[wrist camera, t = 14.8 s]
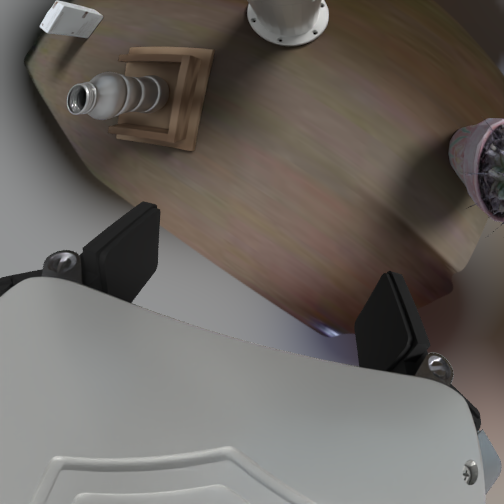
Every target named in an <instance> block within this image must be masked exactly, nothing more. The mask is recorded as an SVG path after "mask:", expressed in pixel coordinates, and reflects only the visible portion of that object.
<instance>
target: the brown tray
mask: <svg viewBox="0 0 504 504" xmlns="http://www.w3.org/2000/svg"><path fill="white" fill-rule="evenodd" d="M214 53H215V50H213V49H202V48H187V47H130V50H129V54H126V55H119V59H118V61H119V62H127V65H126V70H125V76H129V77H143V76H148V75H155V76H158V77H160V78H162V79H163V80H165V81H166V83H167V84H168V87H169V97H168V100H167V102H166V104H165V105H164V106H163V107H162V108H161V109H160V110H158V111H156V112H153V113H149V114H147V113H140V112H127V113H123V114H120V115H119V117H118V125H113V126H109V128H108V133H111V134H117V137H116V139H122V140H129V141H136V142H143V143H149V144H155V145H161V146H167V147H172V148H178V149H183V150H188V151H194V150H195V145H196V140H197V134H198V128H199V123H200V118H201V112H202V107H203V102H204V97H205V93H206V88H207V83H208V79H209V74H210V70H211V66H212V61H213V57H214Z"/></svg>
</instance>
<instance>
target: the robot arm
mask: <svg viewBox="0 0 504 504" xmlns="http://www.w3.org/2000/svg"><path fill="white" fill-rule="evenodd" d="M248 2H249V5H248V9H247V16H248V20H249V23H250V25H251V27H252V28H253V30H254V31H255V32H256V33H257V34H258V35H259V36H260V37H262V38H263V39H265V40H266V41H268V42H271V43H273V44H277V45H281V46H299V45H304V44H307V43H309V42H312V41H313V40H315V39H316V38H318V37H319V36H320V35H321V34H322V33H323V31H324V30H325V29H326V26H327V24H328V20H329V11H328V7H327V5H326V3H325V1H324V0H248ZM321 6H323V8H322V7H321ZM253 21H256V22H253ZM313 33H316V35H314V34H313ZM279 40H282V42H279ZM159 225H160V209H157V205H156V204H152V203H148V202H144V201H143V202H141V203H140V204H139V205H137V206H136V207H134V208H133V209H132V210H130V211H129V212H128V213H126V214H125V215H124V216H122V217H121V218H120V219H118V220H117V221H116V222H114V223H113V224H112V225H111V226H109V227H108V228H107V229H106V230H104V231H103V232H102V233H100V234H99V235H98V236H97V237H95V238H94V239H93V240H92V241H90V242H89V243H88V244H87V245H86V246H84V247H83V253H82V254H80V255H78V254H77V253H76V252H74V251H70V250H62V251H57V252H55V253H53V254H51V255H50V256H48V257H47V258H46V260H45V261H44V264H43V269H42V270H37V271H32V272H27V273H21V274H16V275H12V276H6V277H2V278H0V504H486V499H485V495H486V493H487V492H488V491H489V489H490V488H491V486H492V485H493V484H494V482H495V481H496V480H497V478H498V477H499V475H500V472H501V461H500V459H499V456H498V455H497V453H496V451H495V449H494V448H493V446H492V444H491V442H490V441H489V439H488V437H487V436H486V434H485V432H484V431H483V429H482V430H481V431H479V428H480V425H481V419H480V413H479V411H478V410H477V408H475V407H474V406H473V405H472V404H471V403H470V402H469V401H468V400H467V399H466V398H465V397H464V396H463V395H462V394H461V393H460V392H459V391H458V390H457V389H456V388H455V387H453V386H452V384H451V382H452V380H453V375H454V374H453V369H452V366H451V365H450V363H449V362H448V360H447V359H446V358H444V357H443V356H442V355H440V354H438V353H433V352H432V353H429V354H428V352H427V349H428V348H429V346H430V343H429V340H428V337H427V334H426V332H425V329H424V326H423V324H422V321H421V319H420V316H419V313H418V311H417V308H416V306H415V304H414V301H413V299H412V296H411V294H410V292H409V290H408V287H407V285H406V283H405V281H404V278H403V276H402V275H401V274H398V273H395V272H391V271H388V272H387V273H384V274H383V275H382V276H381V278H380V280H379V282H378V284H377V285H376V287H375V289H374V291H373V292H372V294H371V296H370V298H369V299H368V301H367V303H366V304H365V306H364V308H363V310H362V311H361V313H360V314H359V316H358V318H357V319H356V322H355V335H356V342H357V350H358V358H359V367H358V366H352V365H347V364H342V363H337V362H331V361H327V360H322V359H317V358H312V357H308V356H303V355H299V354H295V353H291V352H286V351H282V350H278V349H274V348H270V347H266V346H262V345H258V344H255V343H251V342H248V341H243V340H240V339H237V338H233V337H230V336H227V335H223V334H220V333H217V332H213V331H210V330H207V329H204V328H201V327H198V326H194V325H191V324H188V323H185V322H182V321H179V320H176V319H174V318H171V317H168V316H165V315H162V314H159V313H156V312H153V311H151V310H148V309H145V308H142V307H140V306H137V305H135V304H132V301H133V300H134V298H135V297H136V296H137V295H138V293H139V292H140V291H141V289H142V288H143V287H144V285H145V284H146V283H147V281H148V280H149V279H150V278H151V276H152V275H153V274H154V272H155V271H156V269H157V265H158V243H159Z"/></svg>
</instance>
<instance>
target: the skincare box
mask: <svg viewBox="0 0 504 504" xmlns="http://www.w3.org/2000/svg"><path fill="white" fill-rule="evenodd" d="M102 18H103V16H102V15H101V14H100V13H98V12H97V11H96V10H94V9H90V8H86V7H83V6H79V5H75V4H71V3H66V2H62V1H56V2H55V3H54V4H53V6H52V7H51V9H50V10H49V11H48V13H47V14H46V16H45V18H44V20H43V21H42V23H41V25H40V27H41V28H42V29H43V30H44V31H45V32H46V33H50V34H60V35H68V36H75V37H82V38H88V37H89V36H90V35H91V33H92V32H93V31H94V29H95V28H96V27H97V25H98V24H99V23H100V21H101V20H102Z"/></svg>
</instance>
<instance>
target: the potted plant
mask: <svg viewBox="0 0 504 504" xmlns="http://www.w3.org/2000/svg"><path fill="white" fill-rule="evenodd" d="M448 154H449V160H450V164H451V166H452V168H453V169H454V171H455V172H456V174H457V175H458V176H459V178H460V179H461V180H462V182H463V183H464V184H465V186H466V188H467V191H468V194H469V195H470V197H471V198H472V199H473V201H474V202H475V203H476V205H477V206H478V207H479V208H480V209H482V210H483V211H484V212H485V213H486V214H487V215H488V216H490V217H491V218H492V219H493V220H494V221H499V222H503V223H502V224H504V119H497V118H488V119H486V120H485V119H484V121H483V122H481V123H479V124H477V125H472V126H467V127H464V128H461V129H458V130H457V132H456V133H455V134H454V135H453V137H452V138H451V140H450V144H449V152H448ZM474 205H475V204H474ZM472 206H473V205H472ZM470 207H471V206H470ZM468 208H469V207H468ZM466 209H467V208H466Z"/></svg>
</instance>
